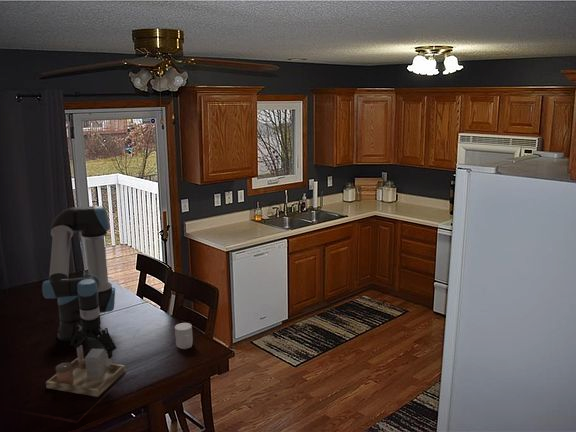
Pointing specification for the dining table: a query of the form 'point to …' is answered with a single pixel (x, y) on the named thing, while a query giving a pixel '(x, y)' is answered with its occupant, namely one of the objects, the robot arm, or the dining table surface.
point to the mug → (183, 335)
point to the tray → (83, 384)
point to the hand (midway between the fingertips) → (95, 362)
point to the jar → (65, 373)
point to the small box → (95, 364)
